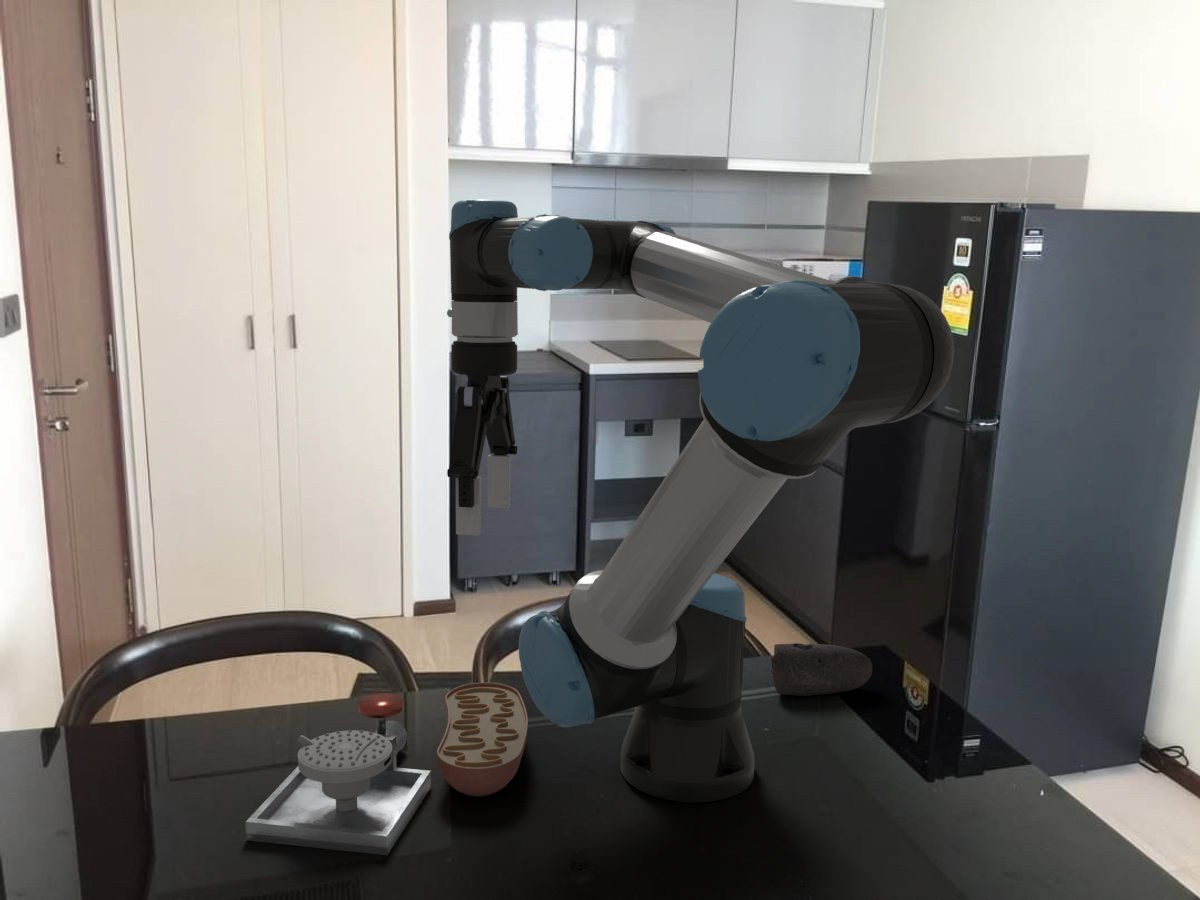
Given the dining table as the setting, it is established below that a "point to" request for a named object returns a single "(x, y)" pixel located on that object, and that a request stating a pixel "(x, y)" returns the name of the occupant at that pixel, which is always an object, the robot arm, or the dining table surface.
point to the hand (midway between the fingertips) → (484, 520)
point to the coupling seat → (380, 812)
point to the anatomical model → (482, 737)
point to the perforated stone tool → (818, 669)
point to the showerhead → (344, 763)
